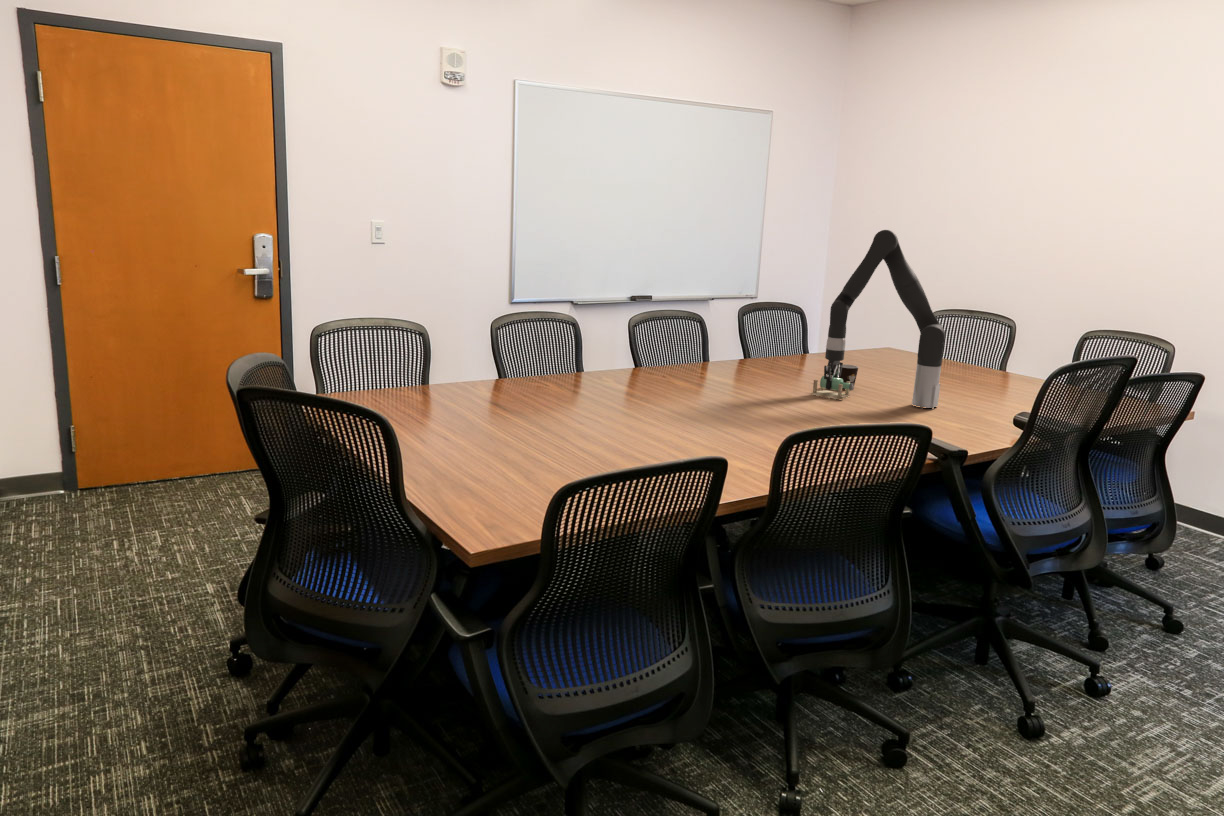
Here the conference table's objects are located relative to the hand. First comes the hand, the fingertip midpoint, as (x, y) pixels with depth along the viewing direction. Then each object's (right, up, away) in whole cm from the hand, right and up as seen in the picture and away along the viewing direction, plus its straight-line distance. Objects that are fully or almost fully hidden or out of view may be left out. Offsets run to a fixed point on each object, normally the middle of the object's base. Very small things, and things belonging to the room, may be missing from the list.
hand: (831, 388), depth 364 cm
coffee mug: (+9, 0, +17) cm, 19 cm away
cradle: (0, -3, +1) cm, 3 cm away
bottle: (+2, -1, -1) cm, 2 cm away
